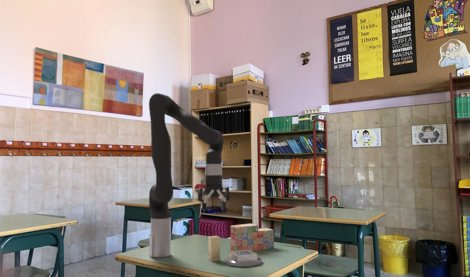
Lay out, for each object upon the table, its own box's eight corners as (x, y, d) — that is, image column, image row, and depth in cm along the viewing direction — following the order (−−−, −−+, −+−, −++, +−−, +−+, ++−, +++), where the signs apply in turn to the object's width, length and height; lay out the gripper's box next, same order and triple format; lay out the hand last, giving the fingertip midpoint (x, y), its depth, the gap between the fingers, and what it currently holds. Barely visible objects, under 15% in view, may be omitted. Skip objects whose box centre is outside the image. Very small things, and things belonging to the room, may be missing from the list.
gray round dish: (232, 269, 147) (232, 258, 147) (219, 259, 162) (219, 250, 162) (268, 264, 153) (268, 255, 153) (252, 256, 168) (252, 247, 168)
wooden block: (211, 261, 159) (211, 237, 160) (208, 259, 163) (208, 236, 164) (219, 260, 161) (219, 237, 162) (216, 258, 164) (216, 235, 165)
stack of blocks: (267, 246, 190) (266, 222, 191) (274, 248, 184) (273, 223, 185) (230, 250, 180) (230, 225, 181) (236, 253, 174) (236, 227, 175)
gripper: (201, 174, 159) (201, 212, 157) (231, 174, 164) (232, 210, 163) (196, 174, 165) (196, 210, 164) (225, 173, 171) (225, 209, 170)
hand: (214, 210), depth 164 cm, fingers open, 8 cm apart
